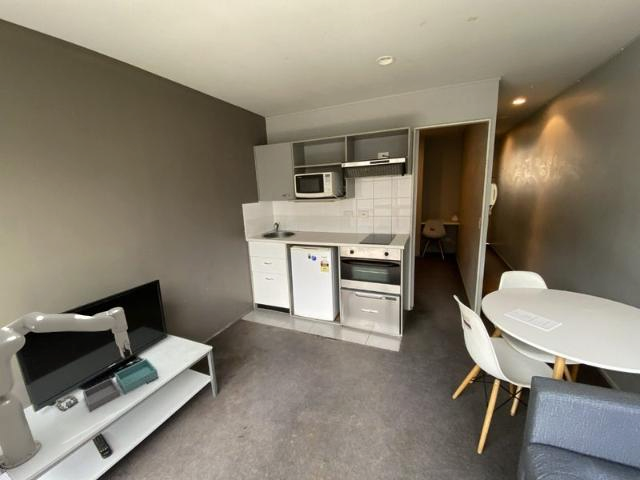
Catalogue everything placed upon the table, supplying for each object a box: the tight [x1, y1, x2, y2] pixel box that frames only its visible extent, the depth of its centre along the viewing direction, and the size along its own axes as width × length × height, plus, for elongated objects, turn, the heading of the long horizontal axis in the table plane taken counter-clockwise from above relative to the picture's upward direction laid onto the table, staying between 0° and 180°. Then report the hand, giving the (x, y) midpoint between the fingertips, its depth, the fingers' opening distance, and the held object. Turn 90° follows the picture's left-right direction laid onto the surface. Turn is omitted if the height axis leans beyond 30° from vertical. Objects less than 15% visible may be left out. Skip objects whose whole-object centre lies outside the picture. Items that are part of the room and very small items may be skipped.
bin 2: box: [114, 358, 159, 395], centre depth 172 cm, size 18×18×6 cm
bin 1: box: [82, 377, 121, 412], centre depth 159 cm, size 14×16×5 cm
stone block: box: [118, 344, 133, 359], centre depth 165 cm, size 4×4×6 cm
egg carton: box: [55, 393, 79, 411], centre depth 155 cm, size 11×8×4 cm
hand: (126, 354), depth 166 cm, fingers closed on stone block, 4 cm apart
